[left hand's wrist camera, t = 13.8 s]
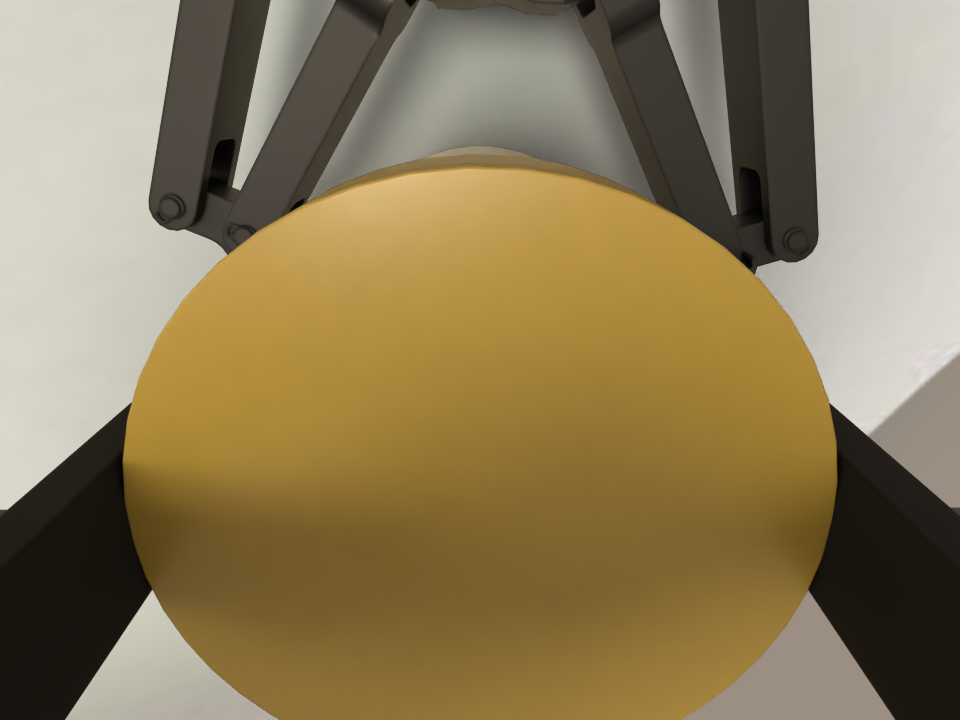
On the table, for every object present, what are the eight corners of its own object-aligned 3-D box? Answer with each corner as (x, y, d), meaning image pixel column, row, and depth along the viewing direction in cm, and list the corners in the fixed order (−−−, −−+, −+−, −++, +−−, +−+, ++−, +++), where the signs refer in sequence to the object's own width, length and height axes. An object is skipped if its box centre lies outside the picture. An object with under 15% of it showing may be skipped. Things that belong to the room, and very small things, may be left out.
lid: (741, 676, 15) (782, 766, 13) (236, 688, 15) (199, 779, 13) (828, 141, 10) (911, 151, 8) (114, 165, 10) (28, 180, 8)
